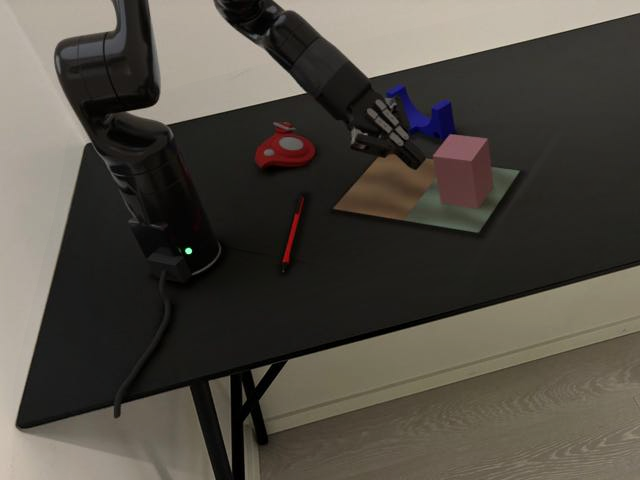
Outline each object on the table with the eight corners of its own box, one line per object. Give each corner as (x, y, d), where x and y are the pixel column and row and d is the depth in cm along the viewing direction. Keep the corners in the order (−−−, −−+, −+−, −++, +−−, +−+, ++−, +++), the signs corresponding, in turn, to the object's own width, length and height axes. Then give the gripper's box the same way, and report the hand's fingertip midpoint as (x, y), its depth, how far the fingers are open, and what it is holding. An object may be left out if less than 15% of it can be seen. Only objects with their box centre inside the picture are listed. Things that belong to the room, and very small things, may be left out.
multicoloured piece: (479, 235, 118) (478, 232, 117) (333, 211, 126) (332, 208, 126) (520, 173, 128) (520, 170, 127) (382, 155, 136) (382, 152, 136)
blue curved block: (386, 128, 142) (379, 95, 138) (405, 116, 144) (399, 84, 140) (437, 148, 136) (431, 114, 132) (456, 135, 138) (450, 101, 134)
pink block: (478, 209, 121) (471, 160, 116) (441, 203, 123) (432, 156, 118) (493, 186, 125) (488, 138, 119) (457, 181, 127) (449, 133, 122)
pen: (307, 196, 130) (305, 190, 130) (287, 274, 117) (285, 267, 116) (301, 196, 130) (299, 190, 130) (281, 274, 117) (278, 268, 116)
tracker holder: (327, 150, 137) (272, 163, 131) (325, 173, 140) (271, 186, 135) (289, 111, 142) (235, 121, 137) (288, 133, 145) (234, 144, 140)
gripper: (342, 72, 126) (428, 154, 130) (294, 117, 118) (387, 202, 122) (365, 41, 120) (453, 127, 124) (316, 85, 112) (413, 176, 116)
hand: (420, 164), depth 123 cm, fingers closed
